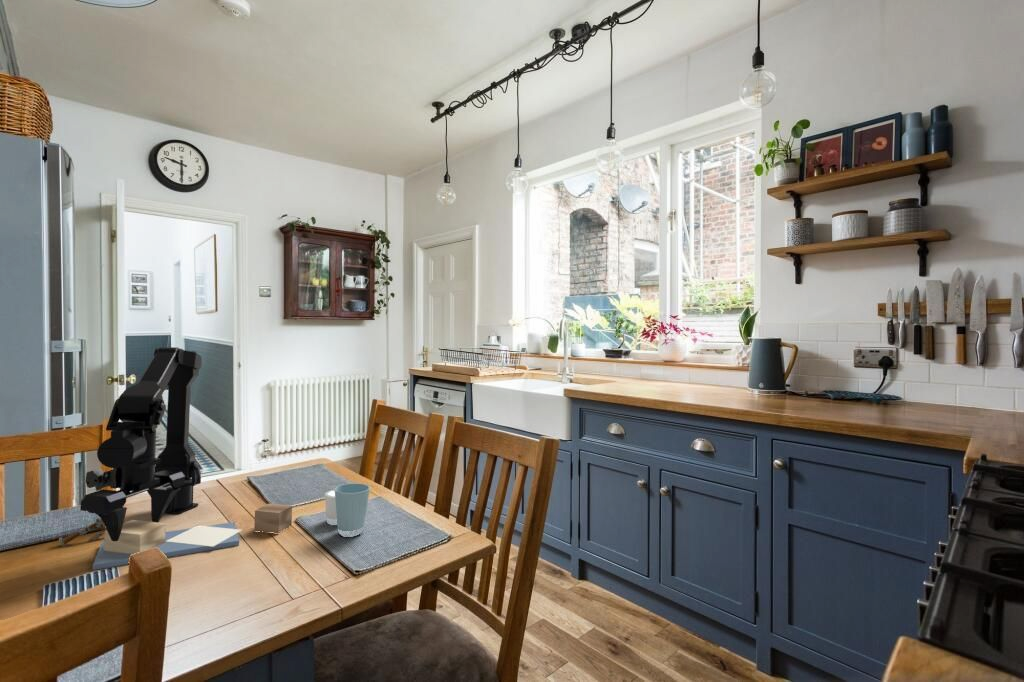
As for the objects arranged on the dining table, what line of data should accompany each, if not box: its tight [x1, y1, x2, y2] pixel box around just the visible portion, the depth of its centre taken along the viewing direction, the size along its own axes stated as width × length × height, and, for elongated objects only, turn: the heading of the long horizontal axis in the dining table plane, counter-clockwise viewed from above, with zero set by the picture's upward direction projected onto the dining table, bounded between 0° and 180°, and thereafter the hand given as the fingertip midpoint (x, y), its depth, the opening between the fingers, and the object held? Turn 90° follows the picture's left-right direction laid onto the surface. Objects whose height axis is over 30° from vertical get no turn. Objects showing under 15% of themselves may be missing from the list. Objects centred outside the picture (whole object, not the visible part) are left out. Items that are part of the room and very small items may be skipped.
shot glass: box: [324, 489, 337, 519], centre depth 122 cm, size 7×7×7 cm
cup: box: [334, 482, 371, 531], centre depth 115 cm, size 8×8×10 cm
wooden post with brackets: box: [58, 518, 107, 548], centre depth 106 cm, size 2×8×4 cm, turn 131°
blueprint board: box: [92, 521, 243, 571], centre depth 105 cm, size 25×14×1 cm, turn 123°
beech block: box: [103, 519, 167, 554], centre depth 102 cm, size 6×8×4 cm
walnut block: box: [253, 502, 293, 534], centre depth 116 cm, size 5×6×5 cm
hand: (135, 531), depth 102 cm, fingers open, 9 cm apart
